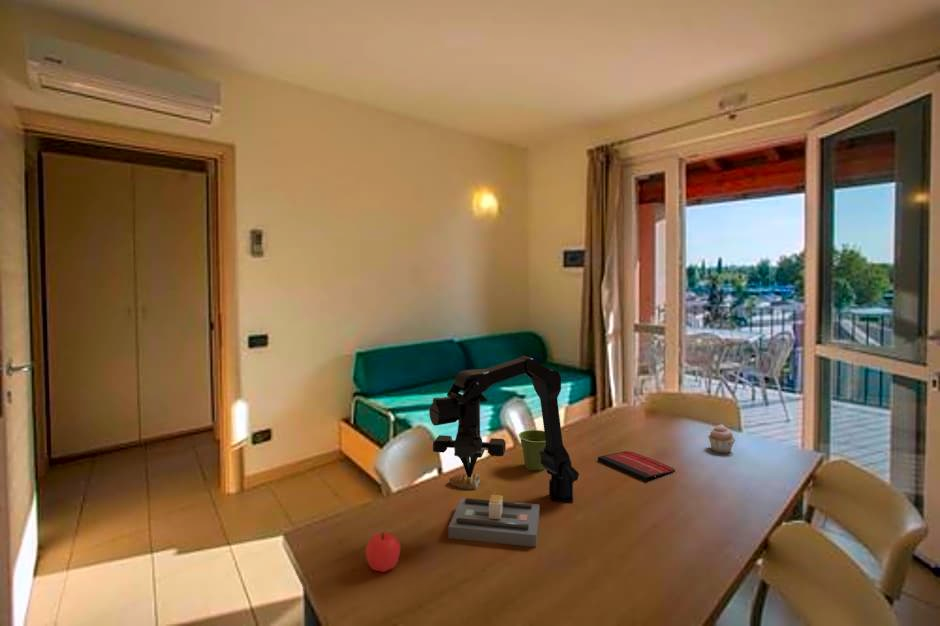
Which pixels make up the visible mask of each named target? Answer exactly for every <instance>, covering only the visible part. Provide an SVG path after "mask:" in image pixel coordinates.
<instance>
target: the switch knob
mask: <svg viewBox="0 0 940 626" xmlns="http://www.w3.org/2000/svg"><path fill="white" fill-rule="evenodd" d="M489 500H490V501H489V518H492V519H501V515H502V511H503V501H504V495H501V494H491V496H490V498H489Z"/></svg>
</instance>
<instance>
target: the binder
mask: <svg viewBox="0 0 940 626" xmlns="http://www.w3.org/2000/svg"><path fill="white" fill-rule="evenodd" d="M597 462H599V463H601V464H603V465H606V466H608V467H610V468H612V469H615V470H617V471H620V472H622V473H624V474H625V475H628V476H631V477H633V478H636V479H637V480H640V481H642V482H645V483H648V480H650V479H652V478H653V480H658V479H660V478H664V477H666V476H668V474H669V475H671V473H672V474H674V473H675V472H676V469H675V468H673V467H671V466H669V465H666V464H664V463H662V462H659V461H657V460H655V459H653V458H650V457H647V456H644V455H641V454H639V453H635V452H633V451H628V450H625V451H621V452H615V453H609V454H606V455H600V456H597ZM673 472H674V473H673ZM665 475H666V476H665ZM654 476H656V478H655V477H654ZM663 476H664V477H663ZM651 477H652V478H651ZM657 478H658V479H657Z"/></svg>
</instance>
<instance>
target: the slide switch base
mask: <svg viewBox="0 0 940 626" xmlns="http://www.w3.org/2000/svg"><path fill="white" fill-rule="evenodd" d="M489 501H490V499H480V498H467V497H466V498H465V497H462V498H460V501H459V503H458V505H457V507H456V510H455V512H454V514H453V516H452V518H451V520H450V522H449V525H448V528H447V529H448V539H452V538H453V539H455V540H462V539H464V541H472V540H475V542H481V543H482V542H484V543H493V544H495V543H496V544H504V545H512V546H513V545H514V546H524V547H534V548H536V547H537V542H538V541H537V540H538V531H539V521H540V506H541V505H540V504H537V503H526V502H517V501H506V500H503V511H502V515H501V519H492V518H489ZM453 539H452V540H453Z"/></svg>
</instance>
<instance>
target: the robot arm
mask: <svg viewBox="0 0 940 626" xmlns="http://www.w3.org/2000/svg"><path fill="white" fill-rule="evenodd" d="M520 375H526V376H527V377H529V379H530V380H531V382H532V387H533V389H534V392H535V393H536V395H537V396H538V398H539V401H540V408H541V417H542V423H543V431H544V433H545V441H546V446H545V448H544V450H543V451H540V456H541V464H543V467H544V468H545V469H544V470H546V473H547V474H548V475H550V476H551V478H550V479H549V482H548V486H549V487H548V489H549V490H548V496H550V501H552V502H553V501H554V502H566V503H573V502H574V482H576V481H578V479H579V475H580V472H579V471H578V470H577V469H575V468H574V467H573V466H572V465H573V464H572V461H571V458H570V455H569V453H568V451H567V448H565V446H564V443H563V435H562V426H561V418H560V408H559V402H558V397H559V395H560V393H561V391H562V376H561V374H560V372H558V371H557V370H554V369H550V368H548V367H546V366H544V365H542V364H541V363H539V362H538V361H537V360H535V359H534V358H532V357H528V356H525V355H523V356H520V357H517V358H515V359H512V360H509V361H506V362H502V363H499V364H497V365H494V366H491V367H487V368H479V369H467V370H461V371H459V372H458V373H457V375H456V377H455V378H454V382H453V384H452V386H451V387H450V389H449V390H448V391H447V394H446V396H444V397H433V398H432V403H431V404H430V407H429V410H428V412H429V413H428V414H429V418H430V421H431V424H432V425H433V426H441V425H447V424H453V423H456V422H458V425H457V432H456V435H455V440H454V439H453V438H452V435H445V434H443V435H442V434H441V435H440V434H439V435H438V436H437V437H436V438H435V439H434V441H433V443H432V452H433V453H441V454H442V453H445V452H446V451H447V450H448V448H451V449H454V453H453V455H454V456H455V457H458V458H459V459H460V461H461V463H462V465H463V468H464V470H465V474H466V473H467V476H468V477H471V476H472V474H474V473H473V472H474V469H475V467H476V466H475V465H476V462H477V460H478V459H479V458H482V457H483V455H484V453H485V451H487V453H488V454H489V456H491V457H503V456H504V455H505V452H506V449H507V447H506V446H507V444H506V443H507V442H506V440H505V439H504V438H496V437H495V438H494V437H493V438H490V440H489V442H488V441H487V442H485V441H484V442H483V439H482V436H481V403H485V402H488V398H487V397H485V396H484V394H483V393H484V392H486V391H487V390H488V389H489V388H490V387H491V386H493V385H495V384H497V383H500V382H503V381H506V380H509V379H512V378H515V377H518V376H520ZM460 392H461V393H463V394H461V393H460Z"/></svg>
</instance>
